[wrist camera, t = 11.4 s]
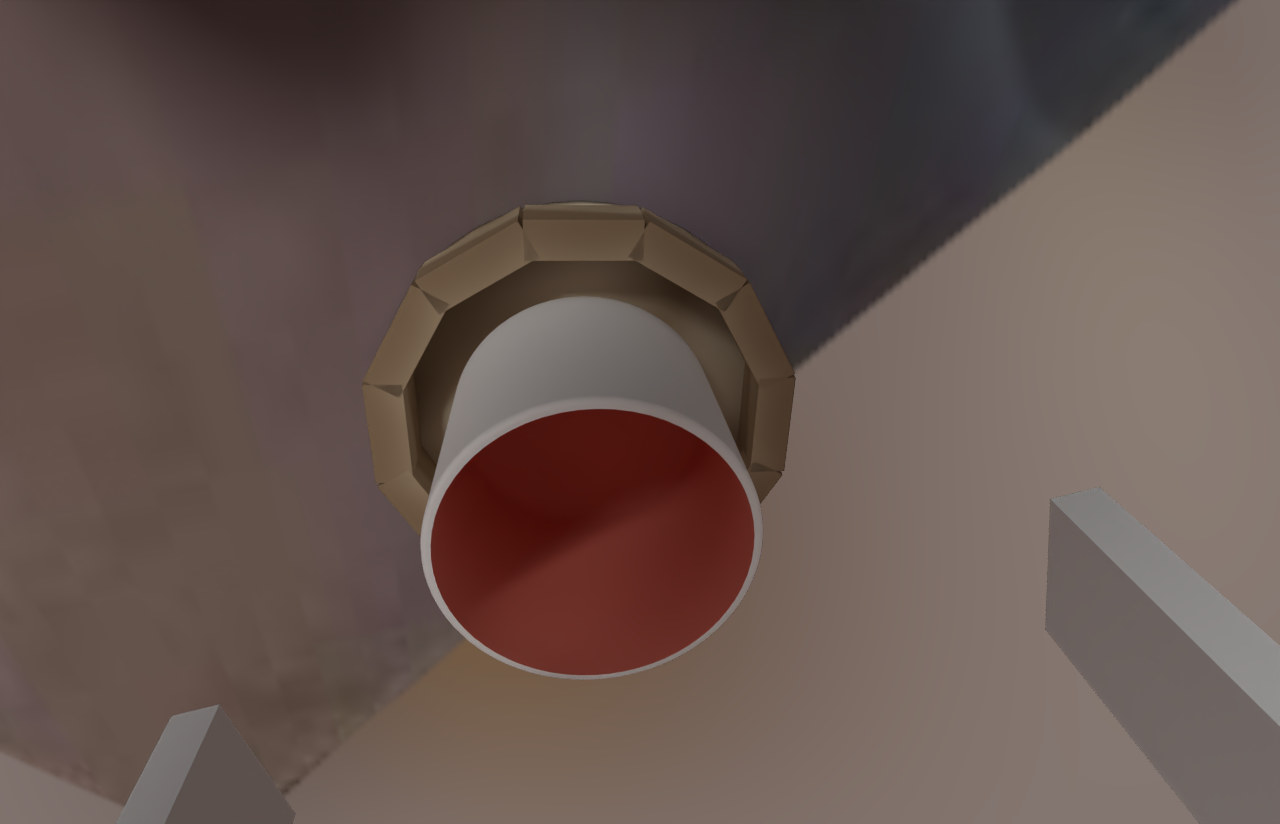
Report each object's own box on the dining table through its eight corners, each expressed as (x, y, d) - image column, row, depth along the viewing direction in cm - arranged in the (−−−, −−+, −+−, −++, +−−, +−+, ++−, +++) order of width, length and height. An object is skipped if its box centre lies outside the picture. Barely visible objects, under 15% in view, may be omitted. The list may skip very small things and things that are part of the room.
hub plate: (321, 463, 33) (300, 505, 30) (497, 115, 28) (491, 126, 25) (644, 599, 38) (651, 646, 35) (845, 326, 33) (873, 355, 30)
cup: (751, 418, 33) (826, 565, 24) (566, 548, 35) (572, 729, 26) (603, 232, 29) (626, 325, 20) (403, 391, 31) (342, 541, 22)
